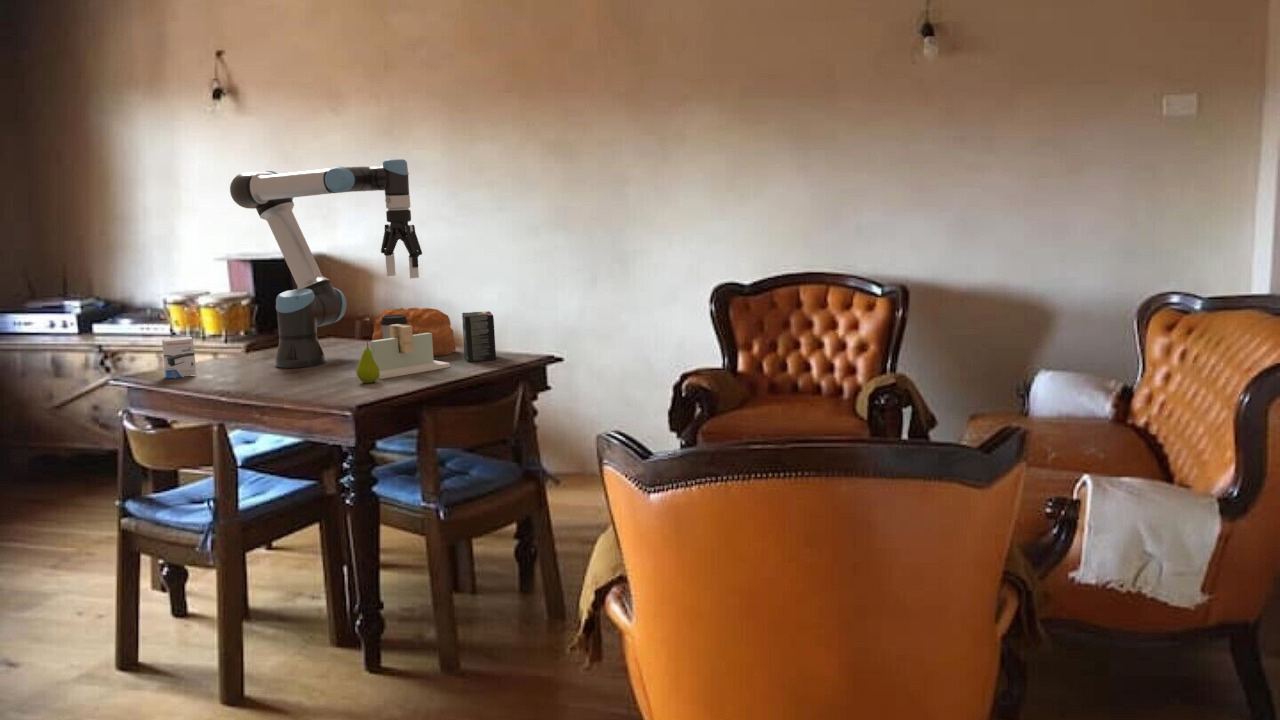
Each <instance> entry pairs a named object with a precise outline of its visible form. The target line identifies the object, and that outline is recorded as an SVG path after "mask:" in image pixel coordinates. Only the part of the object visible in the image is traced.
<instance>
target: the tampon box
mask: <svg viewBox="0 0 1280 720" xmlns="http://www.w3.org/2000/svg"><path fill="white" fill-rule="evenodd" d="M461 314H462V315H461V317H462V318H461V319H462V335H463V336H462V337H463V356H464V358H465V360H466V361H467V362H468V363H471V362H484V361H485V362H487V361H497V355H496V354H497V353H496V336H495V321H494V320H495V319H494V314H493V313H492V312H491V311H472V312H462V313H461Z"/></svg>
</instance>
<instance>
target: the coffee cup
mask: <svg viewBox="0 0 1280 720" xmlns="http://www.w3.org/2000/svg"><path fill="white" fill-rule="evenodd" d="M407 323H408V322H407V319H406V316H405V315H389V316H383V317H382V320H381V326H382V333H383V339H387V338H390V327H389V325H394V324H401V325H407Z"/></svg>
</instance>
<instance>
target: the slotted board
mask: <svg viewBox="0 0 1280 720" xmlns="http://www.w3.org/2000/svg"><path fill="white" fill-rule="evenodd" d="M369 343H370V351H371V353H372V357H373V359H374V362H375V363H376V364H377V366H378V368H379V373H380V375H379V378H378V379H381V380H382V379H383V380H384V379H388V378H395V377H398V376H399V377H401V376H407V375H410V374H411V375H412V374H418V373H423V372H430V371H435V370H441V369H446V368H450V367H451V364H450V363H449V362H447V361H446V362H445V361H439V360H434V356H433V343H432V333H422V334H415V335H413V348H414V352H413V353H407V354H404V353H399V349H398V338H387V339H380V340H374V341H372V340H370V342H369Z"/></svg>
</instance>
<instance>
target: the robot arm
mask: <svg viewBox="0 0 1280 720" xmlns="http://www.w3.org/2000/svg"><path fill="white" fill-rule="evenodd" d="M409 175H410V173H409V169H408V161H407V160H406V159H403V158H400V159H399V158H397V159H394V158H393V159H383V161H382V165H381V166H380V165H379V166H334V167H332V168H323V169H315V170H314V169H313V170H306V171H296V172H288V173H287V172H286V173H282V172H278V171H271V170H266V171H245V172H241V173H239V174H237V175H236V176H235V177H234V178H233V179H232V181H231V183H230V185H229V186H230V187H229V193H230V196H231V198H232V201H233V202H234V203H235V204H237V205H238V206H239V207H242V208H244V209H255V210H256V212H257V213H258V216H259V218H260V219H262V220H265V221H267V224H268V226H269V228H270V230H271V232H272V235H273V237H274V238H275V239H274V240H275V241H276V242H277V245H278V248H279V249H280V252H281V254H282V256H283V258H284V261H285V262H286V265H287V267H288V268H289V270H290V271H289V272H291V273H290V274H291V275H292V277H293V279H294V281H295V284H296V286H297V288H295V289H292V290H291V289H290V290H285V291H283V292H281V293H279V294H278V295H277V296H276V298H275V309H276V317H277V318H276V319H277V329H278V346H277V350H276V355H275V357H274V361H275V363H274V364H275V367H277V368H284V369H285V368H287V369H288V368H289V369H291V368H292V369H296V368H307V367H308V368H309V367H315V366H319V365H322V364H324V363H325V362H326V360H325V359H326V358H325V357H326V356H325V353H324V351H323V348H322V346H321V343H320V341H319V339H318V330H317V329H318V328H319V327H323V326H329V325H330V326H331V325H332V324H334V323H336V322H339V321H340V320H341V319H342V318H344V316H345V312H346V310H347V300H346V297H345V295H344V293H343V292H342V291H341V290H340V289H339V288H337V287H333V285H332V282H331V280H330V278H327V277H324V276H323V274H322V273H321V270H320V268H319V266H318V263H317V262H316V260H315V257H314V256H313V253H312V251H311V249H310V246H309V244H308V243H307V239H306V238H305V236H304V234H303V231H302V229H301V227H300V225H299V223H298V220H297V219H296V216H295V214H294V212H293V208H294V207H295V204H294V201H293V200H294V198H300V197H309V196H311V197H312V196H320V195H329V194H342V193H353V192H372V191H384V196H385V197H384V198H385V199H384V201H385V208H386V209H387V210H386V213H385V214H386V222H388V223H389V224H384V233H383V239H382V243H381V248H380V253H381V254H383V255H384V256H385V265H386V266H385V267H386V276H387V277H394V276H396V261H395V253H394V252H395V248H396V247H397V244H398V241H399V240H400V241H402V242H403V245H404V247H405V249H406V250H407V253H408V254H409V255H408V265H409V266H408V267H409V279H418V278H419V277H420V276H419V257H420V256H422V255H423V251H422V249H421V248H422V247H421V245H420V242H419V238H418V235H417V233H416V227H415V225H414V224H410V225H409V222H411V221H412V212H411V211H412V210H411V209H410V208H411V196H410V185H409V184H410V180H409Z"/></svg>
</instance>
